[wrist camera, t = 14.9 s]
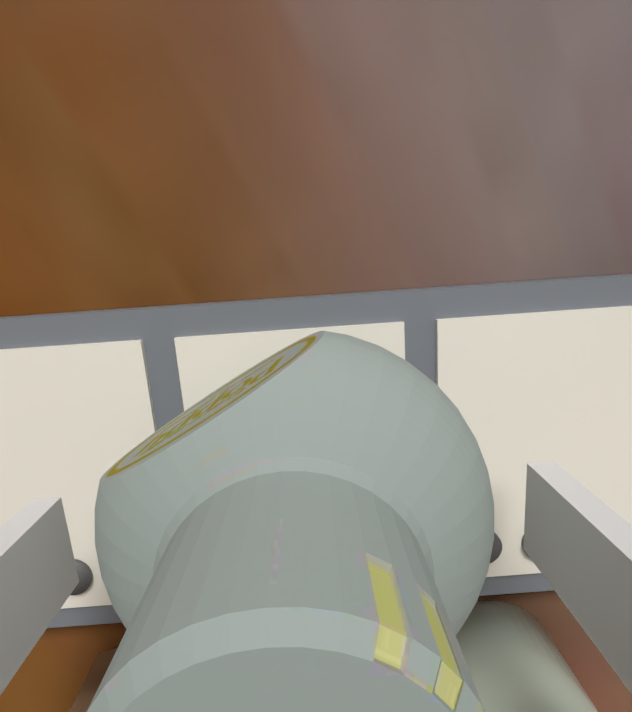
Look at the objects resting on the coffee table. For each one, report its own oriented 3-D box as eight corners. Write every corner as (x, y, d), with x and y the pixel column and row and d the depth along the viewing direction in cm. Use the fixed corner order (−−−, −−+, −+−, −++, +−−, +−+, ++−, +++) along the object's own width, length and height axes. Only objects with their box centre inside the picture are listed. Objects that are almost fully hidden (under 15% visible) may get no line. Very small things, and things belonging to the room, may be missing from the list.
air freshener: (369, 286, 14) (507, 326, 5) (490, 483, 16) (792, 837, 6) (101, 460, 15) (-267, 802, 5) (238, 630, 17) (141, 1143, 7)
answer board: (-9, 616, 18) (-32, 642, 17) (-89, 323, 15) (-122, 328, 14) (629, 569, 18) (651, 591, 17) (660, 271, 15) (689, 272, 14)
